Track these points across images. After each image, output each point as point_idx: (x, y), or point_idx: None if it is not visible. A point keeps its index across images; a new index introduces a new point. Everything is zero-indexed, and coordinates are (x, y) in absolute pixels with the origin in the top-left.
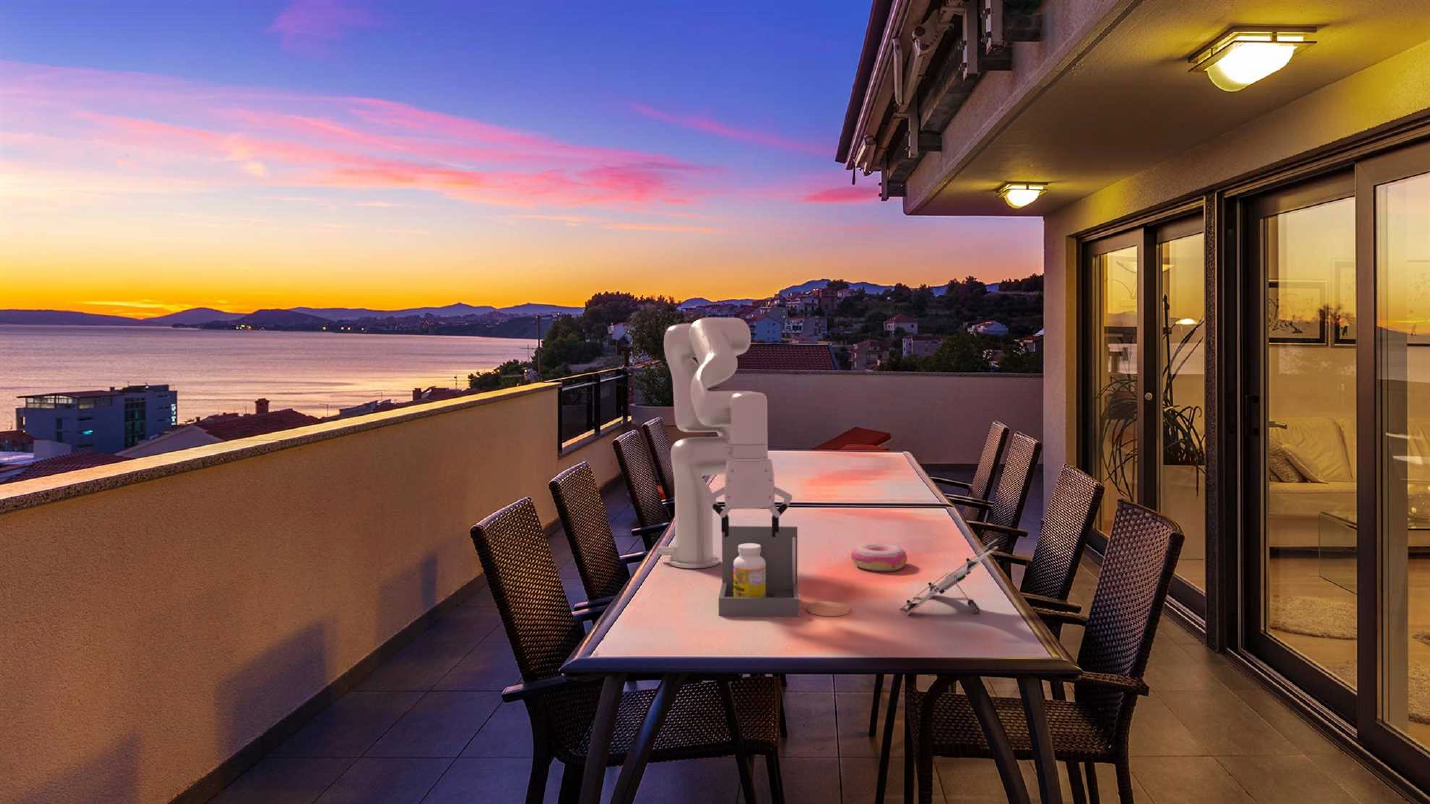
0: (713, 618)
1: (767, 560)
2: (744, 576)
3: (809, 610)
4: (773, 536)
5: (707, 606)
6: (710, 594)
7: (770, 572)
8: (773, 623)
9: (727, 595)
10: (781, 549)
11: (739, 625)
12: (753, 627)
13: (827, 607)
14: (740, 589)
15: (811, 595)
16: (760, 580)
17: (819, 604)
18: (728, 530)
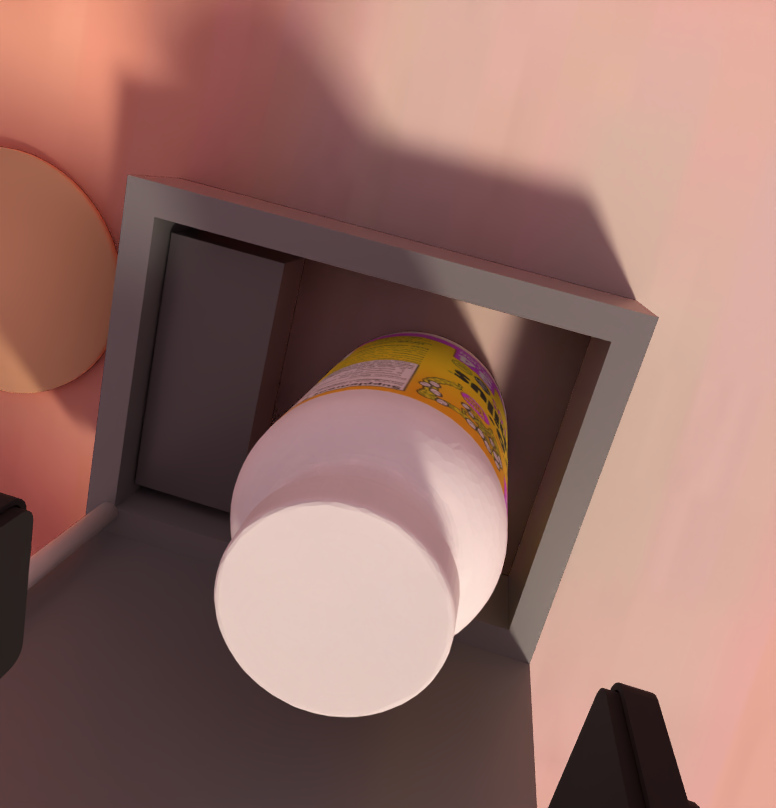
0: (685, 250)
1: (196, 666)
2: (446, 395)
3: (105, 245)
4: (13, 498)
5: (652, 489)
6: (572, 692)
7: (212, 609)
8: (348, 77)
9: (504, 587)
10: (45, 690)
11: (562, 73)
12: (486, 15)
13: (3, 280)
14: (478, 390)
15: (54, 536)
16: (326, 379)
17: (36, 343)
18: (582, 803)
